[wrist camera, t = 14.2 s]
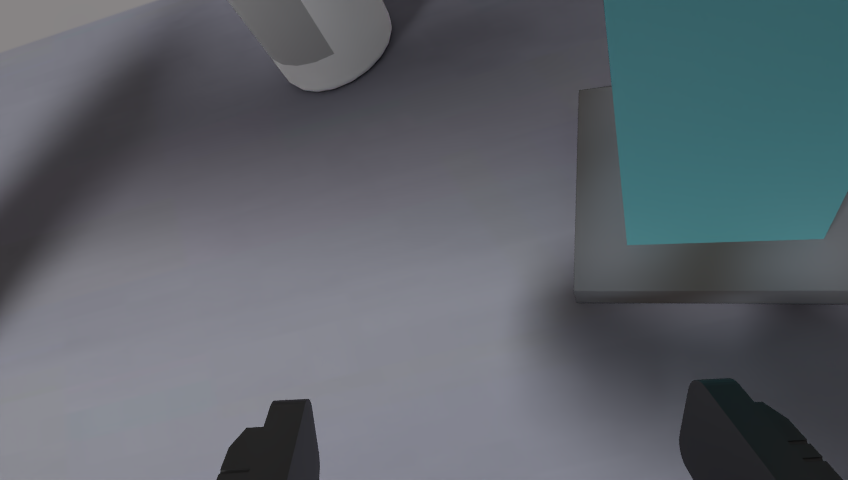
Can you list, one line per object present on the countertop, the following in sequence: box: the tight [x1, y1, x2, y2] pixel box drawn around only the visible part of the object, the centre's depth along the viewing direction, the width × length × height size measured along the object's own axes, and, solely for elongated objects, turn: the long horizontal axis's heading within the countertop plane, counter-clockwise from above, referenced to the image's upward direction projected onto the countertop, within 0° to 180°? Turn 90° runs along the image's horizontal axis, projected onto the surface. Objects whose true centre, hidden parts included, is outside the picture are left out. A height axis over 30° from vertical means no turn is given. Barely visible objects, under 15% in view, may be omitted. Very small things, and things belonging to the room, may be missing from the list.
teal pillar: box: [604, 0, 848, 245], centre depth 14 cm, size 6×6×12 cm
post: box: [573, 86, 848, 304], centre depth 17 cm, size 9×9×8 cm
